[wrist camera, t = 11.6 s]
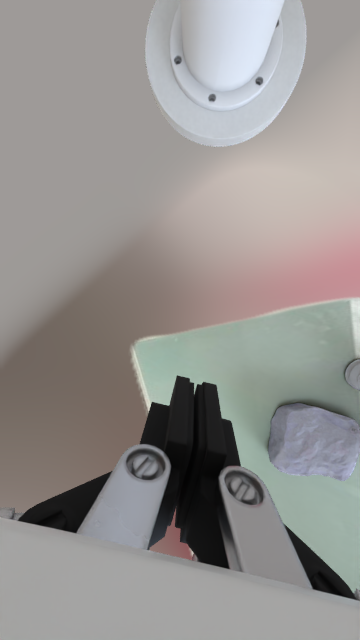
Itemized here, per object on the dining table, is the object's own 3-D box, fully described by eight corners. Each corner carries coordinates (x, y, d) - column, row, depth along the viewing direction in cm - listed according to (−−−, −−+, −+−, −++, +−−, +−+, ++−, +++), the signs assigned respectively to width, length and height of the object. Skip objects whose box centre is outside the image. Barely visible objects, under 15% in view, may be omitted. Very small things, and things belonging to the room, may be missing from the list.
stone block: (271, 394, 40) (263, 458, 41) (283, 405, 36) (274, 478, 36) (348, 403, 40) (340, 467, 41) (371, 415, 36) (361, 487, 36)
